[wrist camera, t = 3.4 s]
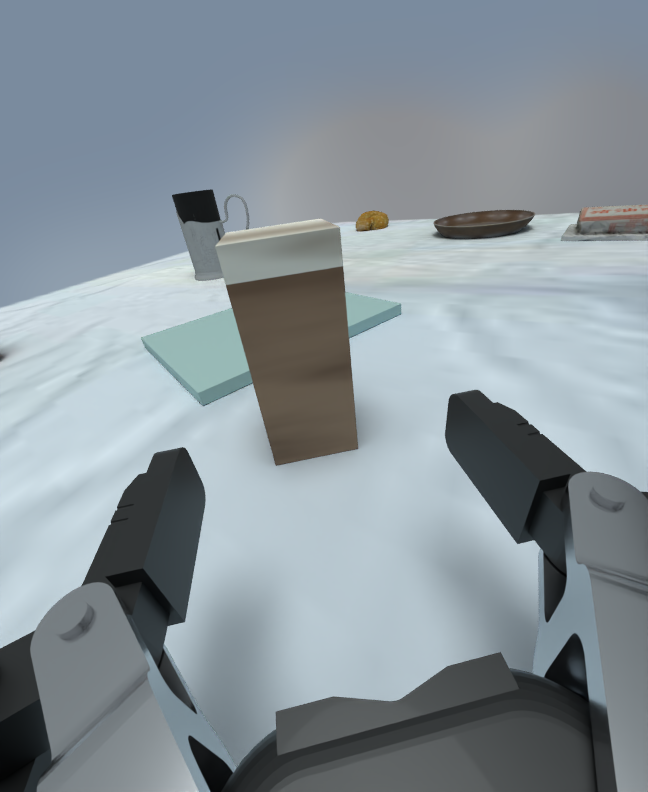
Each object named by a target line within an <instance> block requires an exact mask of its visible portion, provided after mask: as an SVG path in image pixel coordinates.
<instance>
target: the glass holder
mask: <svg viewBox="0 0 648 792" xmlns="http://www.w3.org/2000/svg"><path fill="white" fill-rule="evenodd" d="M234 196H235V197H238V198H240V199H241V200H242V202H243V203H244V205H245V209H246V215H247V226H246V230H248V229H249V213H248V208H247V205H246V202H245V201H244V199H243V198H242V197H240V196H238V195H230V196H228V197H227V198H226V200H225V203H224V209H225V215H226V219H225V220H224V221H222V220H220V216H219V212H218V208H217V205H216V201H215V197H214V193H213V190H203V191H195V192H188V193H181V194H175V195H172V197H173V200H174V203H175V207H176V210H177V212H176V213H177V216H178V219H179V222H180V225H181V228H182V231H183V235H184V238H185V241H186V244H187V247H188V250H189V254H190V257H191V260H192V263H193V266H194V269H195V274H196V275H195V279H196V280H199V281H204V280H213V279H219V278H223V273H222V269H221V266H220V262H219V259H218V255H217V251H216V248H215V246H216V245H217V243H218V242H219V241H220V240H221V238H222V237H223V236H224V235H225V232H224V228H223V224H222V223H224V222H226V221H227V220H228V212H227V202H228V200H229V199H230V198H231V197H234Z"/></svg>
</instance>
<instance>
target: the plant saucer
mask: <svg viewBox="0 0 648 792" xmlns="http://www.w3.org/2000/svg"><path fill="white" fill-rule="evenodd" d="M534 216H535V213H534V212H531V211H524V210H495V211H481V212H472V213H465V214H459V215H453V216H448V217H444V218H441V219H438V220H436V221H434V226H435V227H436V229H437V230H438V232H439V233H440V234H442V235H443V236H444V237H448V238H458V239H473V238H488V237H497V236H503V235H509V234H513V233H516V232H518V231H520V230H521V229H523V228H524V227H525V226H526V225H527V224H528V223H529V222H530V221H531V220H532V219H533V217H534Z"/></svg>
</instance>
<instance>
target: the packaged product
mask: <svg viewBox="0 0 648 792" xmlns="http://www.w3.org/2000/svg"><path fill="white" fill-rule="evenodd" d="M646 240H648V205H631V206H611V207H610V206H607V207H590V208H589V207H588V208H582V209H581V211H580V214H579V218H578V221H577V224H571V225H570V226H569V227H568V228H567V230H566V231H565V233H564V234H563V236H562V238H561V241H646Z"/></svg>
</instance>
